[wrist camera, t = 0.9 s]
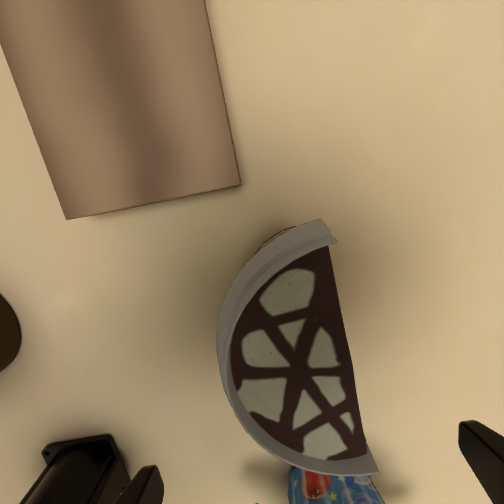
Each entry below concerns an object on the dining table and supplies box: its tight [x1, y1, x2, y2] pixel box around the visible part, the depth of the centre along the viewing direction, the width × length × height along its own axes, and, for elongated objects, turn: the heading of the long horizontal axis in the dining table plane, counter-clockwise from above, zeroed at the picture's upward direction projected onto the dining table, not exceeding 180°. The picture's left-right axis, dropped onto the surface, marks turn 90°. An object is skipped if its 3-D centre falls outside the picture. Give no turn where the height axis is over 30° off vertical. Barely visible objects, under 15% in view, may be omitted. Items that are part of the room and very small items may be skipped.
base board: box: [0, 0, 242, 220], centre depth 15 cm, size 11×15×3 cm
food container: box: [216, 219, 379, 476], centre depth 15 cm, size 12×6×10 cm, turn 14°
